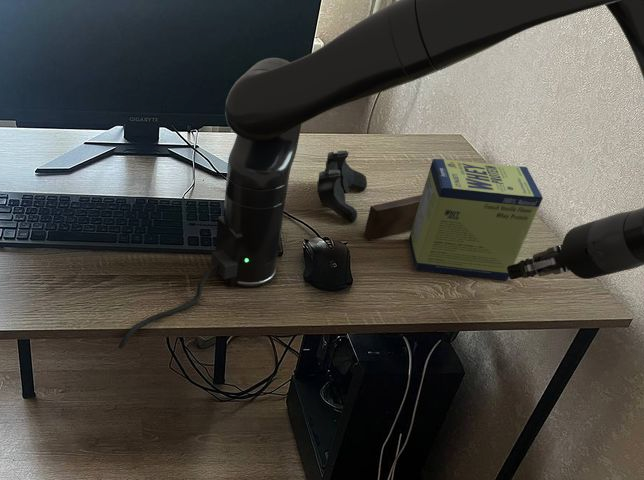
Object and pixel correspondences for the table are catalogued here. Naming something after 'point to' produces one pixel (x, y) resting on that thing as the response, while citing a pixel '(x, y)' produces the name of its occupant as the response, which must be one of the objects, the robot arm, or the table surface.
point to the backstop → (391, 218)
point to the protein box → (473, 218)
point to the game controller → (339, 185)
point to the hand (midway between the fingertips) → (511, 272)
